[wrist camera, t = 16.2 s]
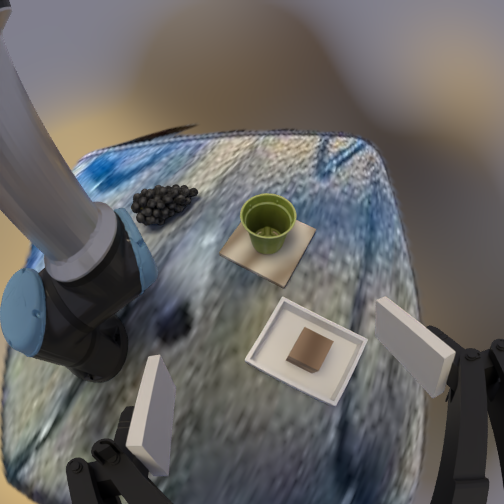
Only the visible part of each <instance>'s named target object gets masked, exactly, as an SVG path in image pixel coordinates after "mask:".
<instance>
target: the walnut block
mask: <svg viewBox="0 0 504 504" xmlns="http://www.w3.org/2000/svg"><path fill="white" fill-rule="evenodd" d="M333 342H334V341H332V340H330V339H328V338H326V337H324V336H322V335H320V334H318V333H316V332H314V331H312V330H310V329H308V328H306V327H304V329H303V330H302V332H301V333H300V335H299V337H298V339H297V341H296V342H295V344H294V346H293V348H292V350H291V351H290V353H289V355H288V357H287V359H286V361H288V362H290V363H292V364H294V365H296V366H298V367H300V368H302V369H304V370H306V371H308V372H310V373H315V372H317V371H319V369H320V368H321V366H322V364H323V362H324V360H325V358H326V356H327V354H328V352H329V350H330V348H331V346H332V344H333Z"/></svg>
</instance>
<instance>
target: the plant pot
mask: <svg viewBox="0 0 504 504" xmlns="http://www.w3.org/2000/svg"><path fill="white" fill-rule="evenodd" d="M240 219H241V223H242V225H243V227H244V228H245V229H246V230H247V231H248V233H249V236H250V239H251V242H252V245H253V247H254V248H255V249H256V250H257V251H258V252H260V253H262V254H273V253H276V252H277V251H279V250H280V249H281V247H282V245H283V243H284V241H285V238H286V236H287V233H288V232H289V231H290V230H291V229H292V228H293V227H294V225H295V222H296V211H295V208H294V207H293V205H292V204H291V203H290V202H289V201H288V200H287V199H285V198H284V197H281V196H279V195H275V194H259V195H256V196H254V197H252V198H250V199H249V200H248V201H246V203H245V204H244V205H243V207H242V209H241V213H240ZM273 231H275V232H276V233H277V234H278V236H277V235H276V234H275V233H273ZM258 232H261V233H260V234H258V235H257V233H258Z"/></svg>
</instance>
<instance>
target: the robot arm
mask: <svg viewBox="0 0 504 504" xmlns="http://www.w3.org/2000/svg"><path fill="white" fill-rule="evenodd" d="M11 12H12V9H11V5H10V2H9V0H0V210H1V211H2V212H3V213H4V214H5V215H6V216H7V217H8V219H9V220H10V221H11V222H12V223H13V224H14V225H15V226H16V227H17V228H18V229H19V230H20V231H21V232H22V233H23V234H24V235H25V236H26V237H27V238H28V239H29V240H30V241H31V242H32V243H33V244H34V245H35V246H36V247H37V248H38V249H39V250H40V251H41V252H42V253H43V254H44V263H45V268H44V269H43V270H42V271H40V272H39V273H38V272H37V271H35V270H34V269H29V268H28V269H26V268H23V269H20V270H19V271H17V272H16V273H15V274H14V275H13V276H12V277H11V279H10V280H9V282H8V284H7V286H6V288H5V290H4V293H3V297H2V302H1V307H0V322H1V328H2V332H3V335H4V337H5V339H6V341H7V342H8V344H9V345H10V346H11V347H12V348H13V349H15V350H17V351H19V352H21V353H23V354H25V355H26V356H28V357H33V358H36V359H40V360H43V361H47V362H50V363H54V364H58V365H62V366H65V367H66V368H68V369H69V370H70V371H71V372H72V373H73V374H75V375H76V376H77V377H79V378H81V379H83V380H86V381H91V382H104V381H107V380H109V379H111V378H112V377H114V376H115V375H116V374H117V373H118V372H119V371H120V369H121V368H122V366H123V364H124V362H125V359H126V355H127V350H128V340H127V334H126V331H125V328H124V326H123V324H122V322H121V321H120V320H119V318H118V317H117V316H116V315H115V313H116V312H118V311H119V310H120V309H122V308H123V307H124V306H126V305H127V304H128V303H130V302H131V301H132V300H134V299H135V298H136V297H138V296H139V295H142V294H143V292H144V290H146V289H147V288H148V287H149V286H150V285H152V284H153V283H154V282H155V281H156V279H157V276H158V269H157V266H156V263H155V261H154V259H153V257H152V255H151V253H150V251H149V249H148V247H147V245H146V244H145V242H144V241H143V238H142V236H141V234H140V232H139V230H138V228H137V227H136V225H135V223H134V221H133V220H132V218H131V217H130V215H129V214H128V212H127V211H126V210H125V209H124V208H119V209H115V210H114V211H113V210H112V208H111V207H110V206H108V205H107V204H105V203H103V202H92V201H91V199H90V198H89V196H88V195H87V193H86V192H85V191H84V189H83V188H82V186H81V185H80V183H79V182H78V180H77V179H76V177H75V176H74V174H73V173H72V171H71V169H70V168H69V166H68V165H67V163H66V162H65V160H64V158H63V157H62V155H61V154H60V152H59V150H58V149H57V147H56V145H55V144H54V142H53V140H52V139H51V137H50V135H49V133H48V132H47V130H46V128H45V126H44V125H43V123H42V121H41V119H40V117H39V116H38V114H37V112H36V110H35V108H34V106H33V104H32V102H31V100H30V99H29V96H28V94H27V92H26V90H25V88H24V86H23V84H22V82H21V80H20V78H19V76H18V73H17V71H16V69H15V67H14V64H13V62H12V60H11V57H10V55H9V52H8V50H7V47H6V45H5V42H4V40H3V37H2V32H3V29H4V27H5V25H6V23H7V21H8V19H9V16H10V15H11ZM375 337H376V338H377V339H378V340H379V341H380V342H381V343H382V344H383V345H384V346H385V347H386V348H387V349H388V350H389V351H390V352H391V354H392V355H393V356H394V357H395V358H396V359H397V360H398V361H399V362H400V363H401V364H402V365H403V366H404V367H405V369H406V370H407V371H408V372H409V373H410V374H411V375H412V376H413V377H414V378H415V379H416V380H417V382H418V383H419V384H420V385H421V386H422V387H423V388H424V389H425V390H426V391H427V392H428V394H429V395H430V396H431V397H432V398H435V397H436V396H438V395H439V394H441V393H442V392H444V389H445V386H446V384H447V385H448V386H449V387H450V389H449V392H448V395H447V398H446V402H447V400H448V411H447V422H446V430H445V438H444V445H443V451H442V457H441V462H440V467H439V472H438V477H437V481H436V485H435V489H434V493H433V497H432V500H431V503H430V504H486V502H487V496H488V490H489V480H488V479H487V478H485V467H486V455H487V436H488V434H487V433H488V414H489V418H490V422H491V425H492V429H493V432H494V437H495V441H496V445H497V450H498V455H499V460H500V466H501V472H502V478H503V487H504V340H503V339H496V340H494V341H493V342H492V344H491V347H490V349H488V350H485V351H482V352H480V351H478V350H476V349H472V348H469V349H464V348H462V347H461V346H460V345H459V344H457V343H456V342H455V341H453V340H452V339H451V338H450V337H448V336H447V335H446V334H444V333H443V332H442V331H441V330H439V329H438V328H436V327H433V326H427V327H424V326H423V325H422V324H421V323H419V322H418V321H417V320H416V319H414V318H413V317H412V316H411V315H409V314H408V313H407V312H405V311H404V310H403V309H401V308H400V307H399V306H398V305H396V304H395V303H394V302H392V301H391V300H390V299H388V298H387V297H383V298H381V299H378V300H376V323H375ZM175 395H176V387H175V385H174V383H173V381H172V378H171V376H170V374H169V372H168V370H167V368H166V366H165V364H164V361H163V359H162V357H161V355H155V356H148V360H147V363H146V367H145V370H144V374H143V377H142V381H141V385H140V389H139V392H138V396H137V400H136V404H135V406H129V407H126V408H125V409H124V411H123V412H122V413H121V416H120V420H119V423H118V429H117V431H116V434H115V438H114V441H113V440H111V439H101V440H99V441H97V442H96V443H95V444H94V445H93V447H92V450H91V453H92V456H93V457H94V458H95V459H96V460H97V461H95V462H90V463H87V462H86V461H85V460H84V459H82V458H74V459H72V460H70V461H69V462H68V464H67V466H66V474H67V480H68V486H69V491H70V496H71V500H72V504H122V503H121V500H120V498H119V495H122V496H123V497H124V498H125V500H126V501H127V502H128V504H173V503H172V502H171V501H170V500H169V499H168V498H167V497H166V496H165V495H164V494H163V493H162V492H161V491H160V490H159V489H158V488H157V486H156V485H155V484H154V483H153V482H152V481H151V480H150V479H149V478H148V472H150V473H151V474H152V475H153V476H169V462H170V448H171V435H172V424H173V414H174V404H175ZM487 411H488V414H487Z"/></svg>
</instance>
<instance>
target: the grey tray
mask: <svg viewBox="0 0 504 504" xmlns="http://www.w3.org/2000/svg"><path fill="white" fill-rule="evenodd" d="M304 327H306V328H308V329H310V330H312V331H314V332H316V333H318V334H320V335H322V336H324V337H326V338H328V339H330V340H332V341H334V342H333V344H332V346H331V348H330V350H329V352H328V354H327V356H326V358H325V360H324V362H323V364H322V366H321V368H320V369H319V371H317V372H315V373H310V372H308V371H306V370H304V369H302V368H300V367H298V366H296V365H294V364H292V363H290V362H288V361H286V359H287V357H288V355H289V353H290V351H291V350H292V348H293V346H294V344H295V342H296V341H297V339H298V337H299V335H300V333H301V332H302V330H303V329H304ZM367 340H368V339H366V338H364V337H362V336H360V335H358V334H356V333H354V332H352V331H350V330H348V329H346V328H344V327H342V326H340V325H338V324H336V323H334V322H332V321H330V320H328V319H326V318H324V317H322V316H320V315H318V314H316V313H314V312H312V311H310V310H308V309H306V308H304V307H302V306H300V305H298V304H296V303H294V302H292V301H290V300H288V299H286V298H284V297H283V296H282V298H281V300H280V301H279V303H278V305H277V307H276V308H275V310H274V312H273V313H272V315H271V317H270V319H269V320H268V322H267V324H266V325H265V327H264V329H263V330H262V332H261V334H260V335H259V337H258V339H257V340H256V342H255V344H254V345H253V347H252V349H251V350H250V352H249V353H248V355H247V357H246V358H245V362H246V363H247V364H249V365H251V366H253V367H254V368H256V369H258V370H260V371H262V372H264V373H265V374H267V375H269V376H271V377H273V378H275V379H277V380H279V381H281V382H282V383H284V384H286V385H288V386H290V387H292V388H294V389H296V390H298V391H300V392H302V393H304V394H306V395H309V396H311V397H313V398H315V399H317V400H319V401H321V402H323V403H326V404H328V405H331V406H336V405H337V403H338V401H339V399H340V397H341V395H342V393H343V391H344V389H345V388H346V386H347V384H348V382H349V380H350V378H351V375H352V373H353V371H354V369H355V367H356V365H357V363H358V361H359V358H360V356H361V354H362V352H363V350H364V347H365V345H366V343H367Z"/></svg>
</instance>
